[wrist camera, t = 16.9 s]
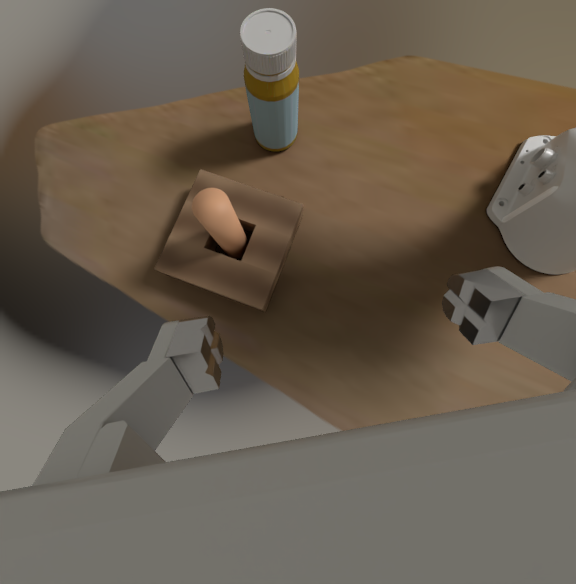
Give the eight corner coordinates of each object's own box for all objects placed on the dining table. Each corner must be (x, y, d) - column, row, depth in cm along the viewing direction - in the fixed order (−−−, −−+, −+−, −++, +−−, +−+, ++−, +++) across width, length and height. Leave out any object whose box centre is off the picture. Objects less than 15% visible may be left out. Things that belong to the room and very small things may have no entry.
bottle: (246, 139, 43) (223, 37, 28) (271, 109, 44) (261, -6, 29) (280, 161, 42) (275, 69, 27) (305, 130, 43) (312, 24, 28)
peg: (229, 230, 40) (201, 182, 28) (253, 238, 40) (235, 194, 27) (219, 253, 40) (185, 215, 27) (243, 262, 40) (220, 228, 27)
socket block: (209, 184, 42) (200, 168, 38) (302, 216, 41) (303, 204, 37) (167, 275, 39) (154, 269, 35) (265, 312, 38) (262, 309, 34)
